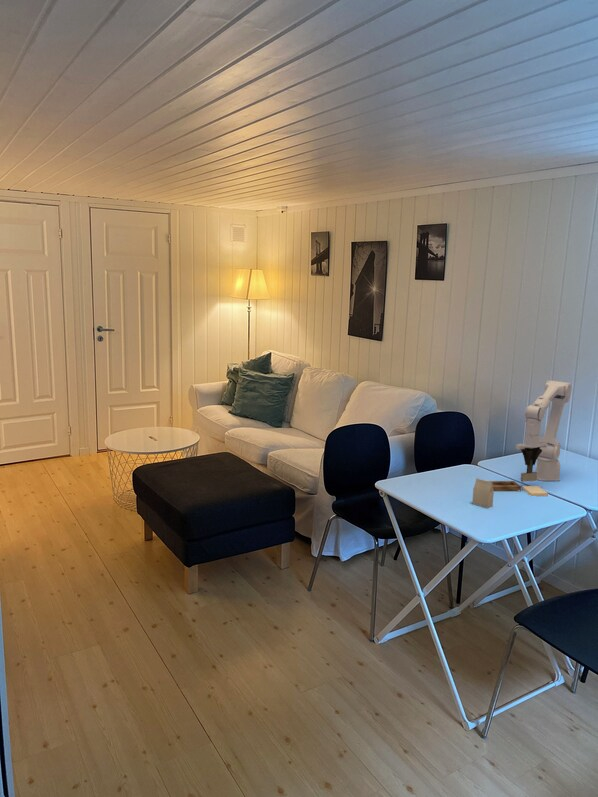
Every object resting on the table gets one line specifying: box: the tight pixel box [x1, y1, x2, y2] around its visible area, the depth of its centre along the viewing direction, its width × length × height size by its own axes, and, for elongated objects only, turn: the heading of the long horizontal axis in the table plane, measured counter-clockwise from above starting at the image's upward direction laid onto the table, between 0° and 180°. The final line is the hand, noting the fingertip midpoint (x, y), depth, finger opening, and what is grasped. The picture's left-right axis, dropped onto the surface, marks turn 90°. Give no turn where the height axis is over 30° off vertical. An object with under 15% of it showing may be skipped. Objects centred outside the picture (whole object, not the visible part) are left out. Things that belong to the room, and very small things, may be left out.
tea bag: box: [471, 478, 495, 509], centre depth 242 cm, size 4×7×10 cm, turn 45°
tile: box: [521, 485, 549, 497], centre depth 258 cm, size 7×2×9 cm
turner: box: [520, 459, 538, 483], centre depth 263 cm, size 7×1×10 cm, turn 107°
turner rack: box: [488, 480, 522, 492], centre depth 262 cm, size 12×7×2 cm, turn 94°
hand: (529, 464), depth 262 cm, fingers closed on turner
